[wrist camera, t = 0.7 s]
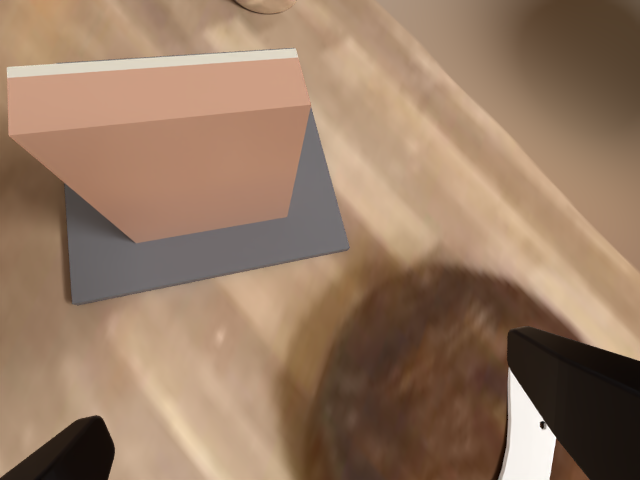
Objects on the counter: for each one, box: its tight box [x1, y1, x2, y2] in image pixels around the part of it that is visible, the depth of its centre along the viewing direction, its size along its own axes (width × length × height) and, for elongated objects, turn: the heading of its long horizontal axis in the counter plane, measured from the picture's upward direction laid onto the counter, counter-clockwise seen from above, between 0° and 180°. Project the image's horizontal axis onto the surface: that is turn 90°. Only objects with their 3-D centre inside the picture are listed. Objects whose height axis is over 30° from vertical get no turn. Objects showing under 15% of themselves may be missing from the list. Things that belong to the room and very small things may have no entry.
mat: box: [57, 48, 350, 305], centre depth 23 cm, size 16×16×1 cm
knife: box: [498, 368, 556, 480], centre depth 20 cm, size 31×6×2 cm, turn 146°
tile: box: [7, 48, 311, 243], centre depth 17 cm, size 2×9×11 cm, turn 104°
